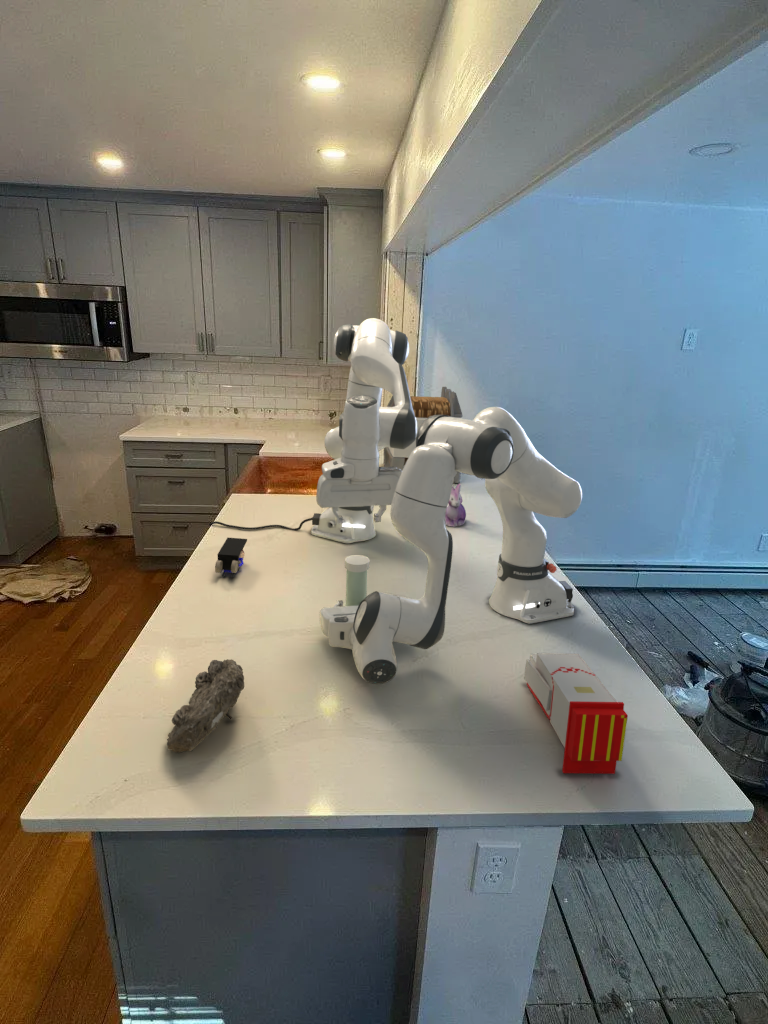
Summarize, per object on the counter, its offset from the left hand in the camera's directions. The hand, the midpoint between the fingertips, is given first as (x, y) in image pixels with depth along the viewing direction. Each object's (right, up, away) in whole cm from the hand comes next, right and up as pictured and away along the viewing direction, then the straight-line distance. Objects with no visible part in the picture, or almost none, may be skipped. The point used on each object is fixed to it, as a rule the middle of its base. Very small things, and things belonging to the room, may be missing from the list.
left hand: (358, 522), depth 137 cm
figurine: (+33, -2, +75) cm, 82 cm away
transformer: (+23, +21, +138) cm, 141 cm away
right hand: (0, -20, +4) cm, 20 cm away
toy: (+41, -39, -26) cm, 62 cm away
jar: (-1, -24, +9) cm, 26 cm away
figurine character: (-39, -15, +30) cm, 51 cm away
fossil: (-27, -37, -29) cm, 54 cm away
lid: (0, -10, +3) cm, 10 cm away
